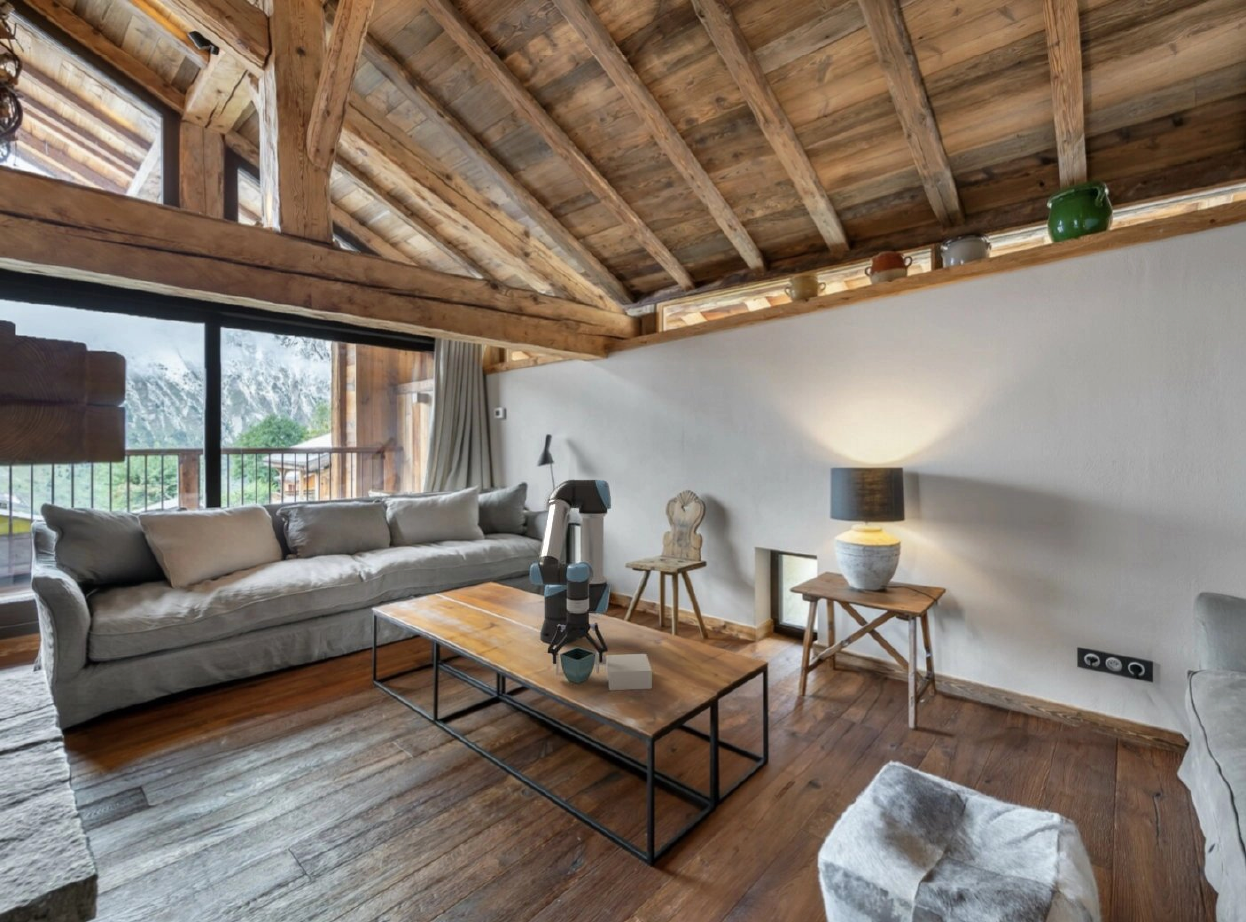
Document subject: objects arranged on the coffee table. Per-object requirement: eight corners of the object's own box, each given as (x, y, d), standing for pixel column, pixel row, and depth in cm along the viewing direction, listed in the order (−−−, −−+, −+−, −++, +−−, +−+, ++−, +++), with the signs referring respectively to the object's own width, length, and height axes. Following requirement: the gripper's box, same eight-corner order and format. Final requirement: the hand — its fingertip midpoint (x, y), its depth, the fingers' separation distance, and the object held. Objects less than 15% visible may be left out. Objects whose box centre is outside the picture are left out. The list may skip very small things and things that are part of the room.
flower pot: (577, 671, 194) (577, 646, 194) (596, 678, 189) (596, 652, 188) (559, 680, 187) (559, 654, 187) (578, 687, 182) (578, 660, 181)
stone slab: (606, 672, 194) (606, 655, 194) (645, 670, 195) (645, 653, 195) (609, 690, 180) (609, 672, 180) (651, 688, 181) (651, 670, 181)
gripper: (540, 614, 182) (539, 678, 183) (615, 612, 184) (615, 675, 185) (541, 607, 189) (541, 669, 190) (613, 606, 192) (613, 666, 193)
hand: (577, 672), depth 188 cm, fingers open, 13 cm apart
